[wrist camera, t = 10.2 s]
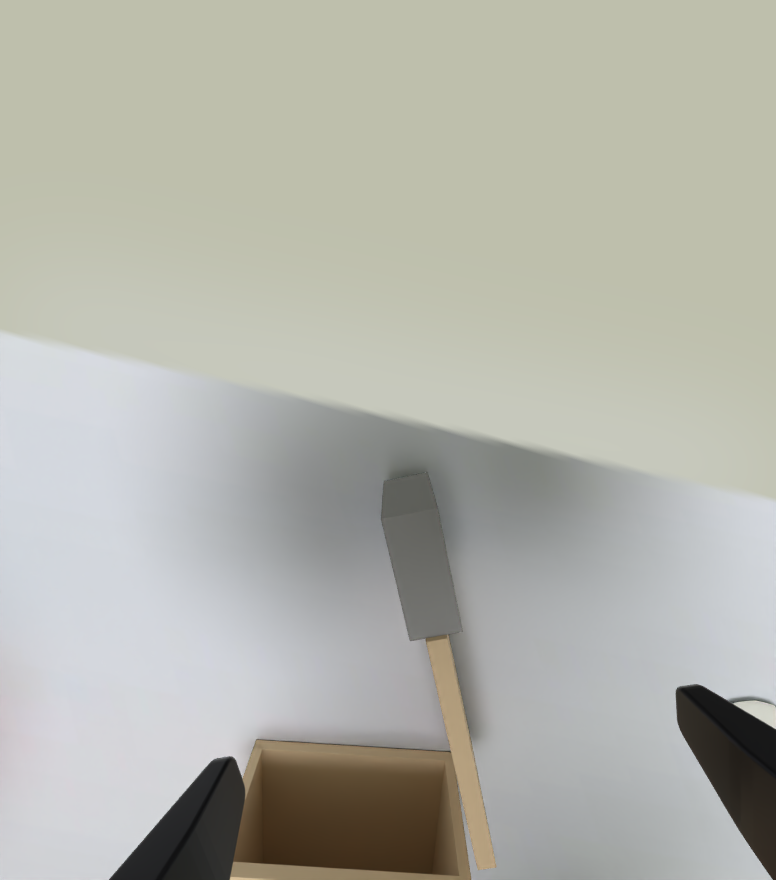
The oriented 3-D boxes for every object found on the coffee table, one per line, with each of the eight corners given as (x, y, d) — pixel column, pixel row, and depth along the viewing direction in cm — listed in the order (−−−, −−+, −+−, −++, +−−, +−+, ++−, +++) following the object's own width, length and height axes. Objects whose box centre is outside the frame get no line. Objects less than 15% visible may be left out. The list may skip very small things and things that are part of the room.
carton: (452, 752, 23) (473, 892, 17) (437, 881, 25) (450, 1045, 19) (256, 740, 23) (208, 875, 17) (257, 870, 25) (215, 1030, 19)
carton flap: (482, 743, 22) (510, 865, 17) (447, 749, 22) (464, 871, 17) (425, 465, 19) (437, 510, 14) (384, 474, 19) (380, 521, 14)
